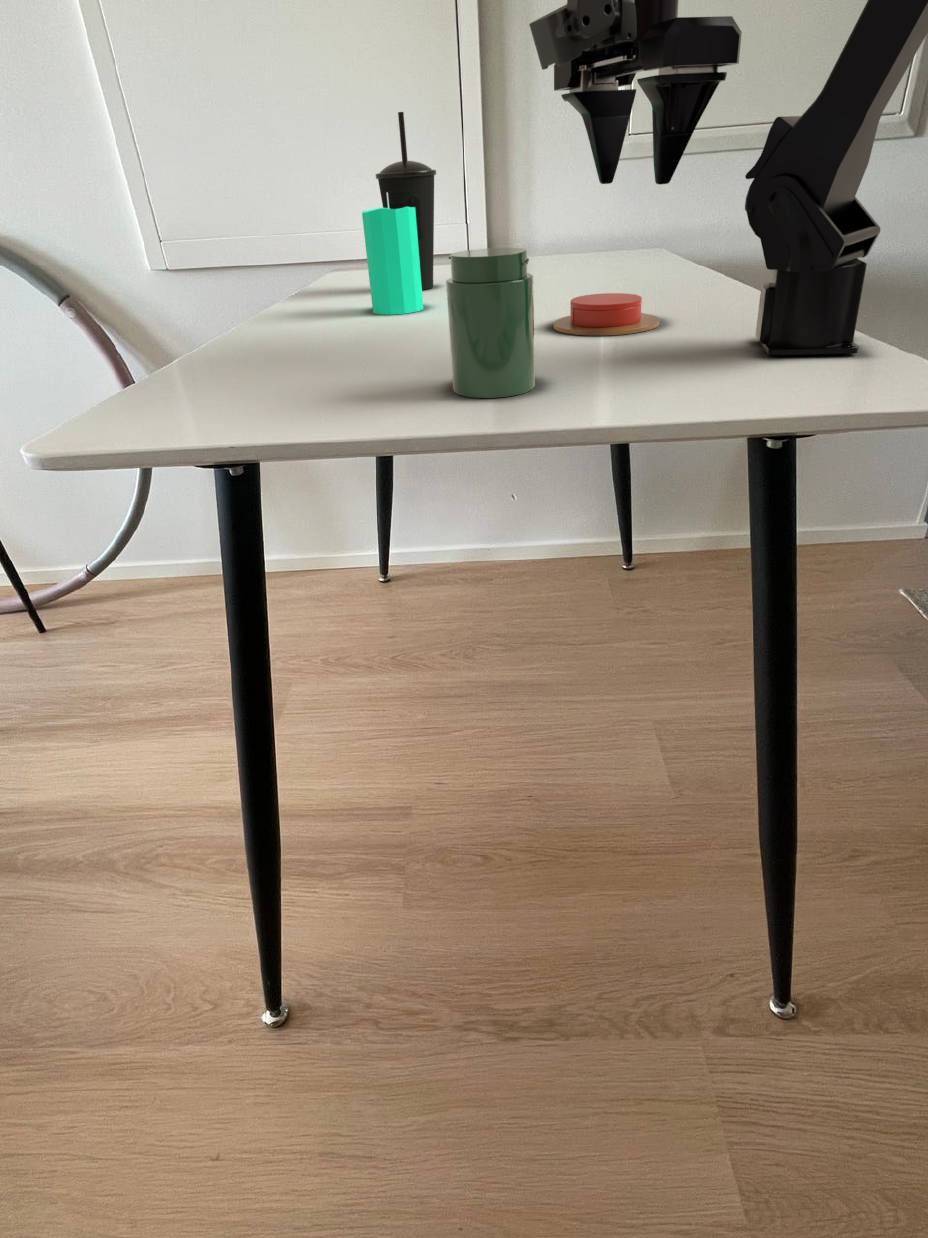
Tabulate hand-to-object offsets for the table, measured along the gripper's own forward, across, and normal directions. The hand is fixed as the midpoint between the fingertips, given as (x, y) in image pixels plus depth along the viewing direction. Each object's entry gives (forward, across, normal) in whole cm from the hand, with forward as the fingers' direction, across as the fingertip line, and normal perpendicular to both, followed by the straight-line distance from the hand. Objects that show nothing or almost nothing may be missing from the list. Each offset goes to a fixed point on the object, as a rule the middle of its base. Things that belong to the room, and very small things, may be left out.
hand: (632, 183), depth 67 cm
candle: (+12, -28, -14) cm, 33 cm away
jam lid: (+10, -4, 0) cm, 11 cm away
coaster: (+12, -4, 0) cm, 13 cm away
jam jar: (+12, +12, -18) cm, 24 cm away
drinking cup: (+12, -43, -7) cm, 46 cm away
